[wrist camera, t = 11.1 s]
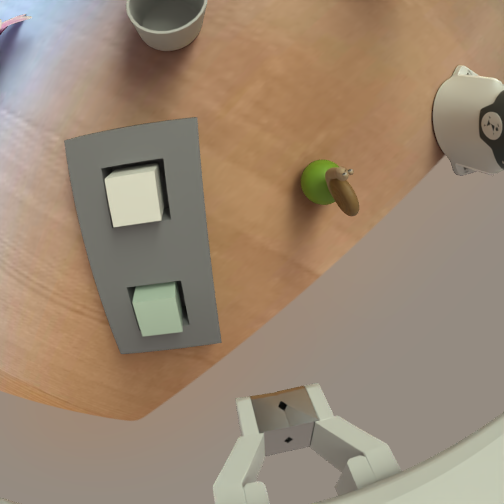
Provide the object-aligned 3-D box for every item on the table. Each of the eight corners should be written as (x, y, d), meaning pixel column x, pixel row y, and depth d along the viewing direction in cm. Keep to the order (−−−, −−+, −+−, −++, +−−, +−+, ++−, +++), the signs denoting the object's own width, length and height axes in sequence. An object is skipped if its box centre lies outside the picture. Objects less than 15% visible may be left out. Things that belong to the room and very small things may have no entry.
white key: (158, 162, 32) (154, 170, 28) (164, 205, 35) (161, 220, 30) (115, 169, 32) (104, 179, 27) (122, 212, 34) (113, 227, 29)
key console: (195, 117, 33) (197, 117, 29) (217, 320, 45) (221, 342, 41) (79, 136, 31) (64, 140, 26) (125, 331, 43) (121, 354, 39)
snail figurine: (320, 142, 37) (371, 157, 27) (339, 184, 40) (391, 214, 29) (283, 163, 37) (323, 186, 27) (305, 205, 40) (348, 241, 30)
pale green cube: (175, 275, 39) (175, 297, 34) (181, 308, 41) (182, 331, 36) (137, 280, 38) (132, 302, 33) (145, 312, 40) (142, 336, 35)
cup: (161, 64, 30) (153, 49, 22) (115, 7, 25) (97, -19, 17) (214, 30, 29) (223, 6, 21) (168, -26, 24) (165, -60, 16)
